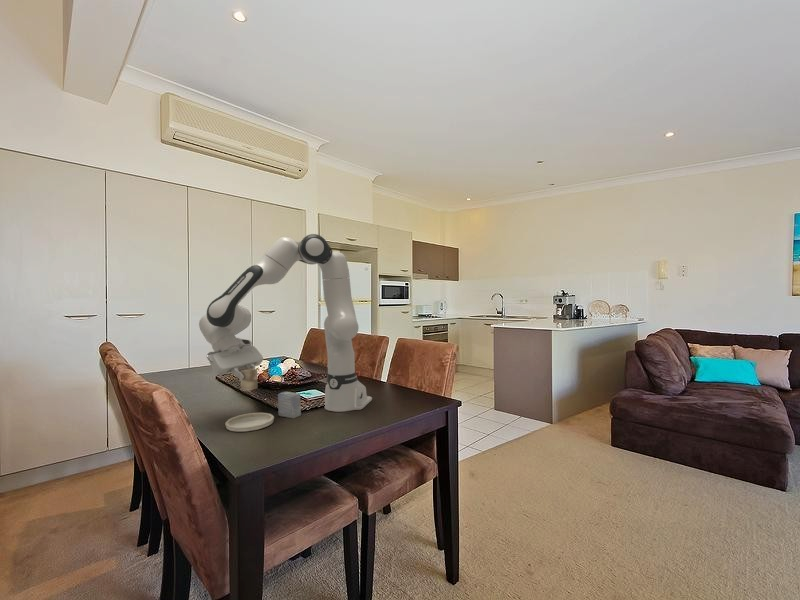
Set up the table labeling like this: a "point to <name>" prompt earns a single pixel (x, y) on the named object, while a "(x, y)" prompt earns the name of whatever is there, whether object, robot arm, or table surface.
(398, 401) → the table surface
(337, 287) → the robot arm
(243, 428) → the dish
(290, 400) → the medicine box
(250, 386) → the birch block
